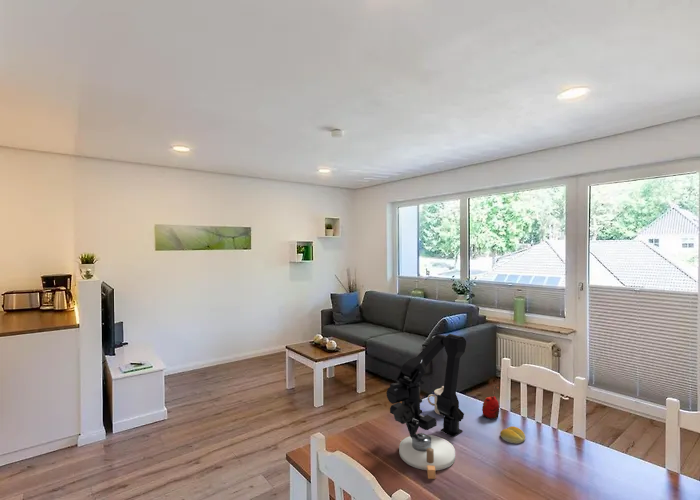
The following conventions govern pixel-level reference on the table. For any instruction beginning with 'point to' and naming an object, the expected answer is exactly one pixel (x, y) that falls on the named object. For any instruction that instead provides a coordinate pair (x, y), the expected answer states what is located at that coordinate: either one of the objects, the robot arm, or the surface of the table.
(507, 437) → the bread roll
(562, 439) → the table surface
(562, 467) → the table surface
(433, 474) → the pointer block
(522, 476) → the table surface
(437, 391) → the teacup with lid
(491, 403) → the red clay folk toy
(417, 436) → the cover
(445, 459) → the turntable
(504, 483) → the table surface
